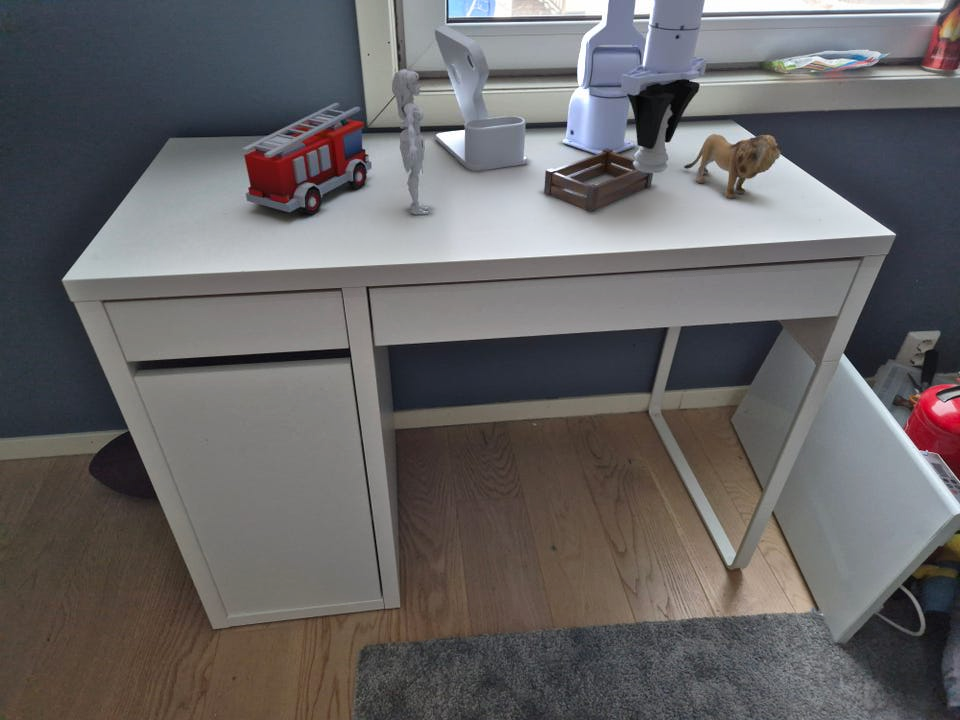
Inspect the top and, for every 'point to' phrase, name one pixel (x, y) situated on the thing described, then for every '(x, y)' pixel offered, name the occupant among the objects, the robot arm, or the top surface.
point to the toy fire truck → (307, 161)
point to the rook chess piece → (654, 151)
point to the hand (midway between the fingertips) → (653, 143)
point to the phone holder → (477, 110)
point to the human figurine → (410, 131)
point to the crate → (602, 192)
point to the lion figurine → (737, 159)
